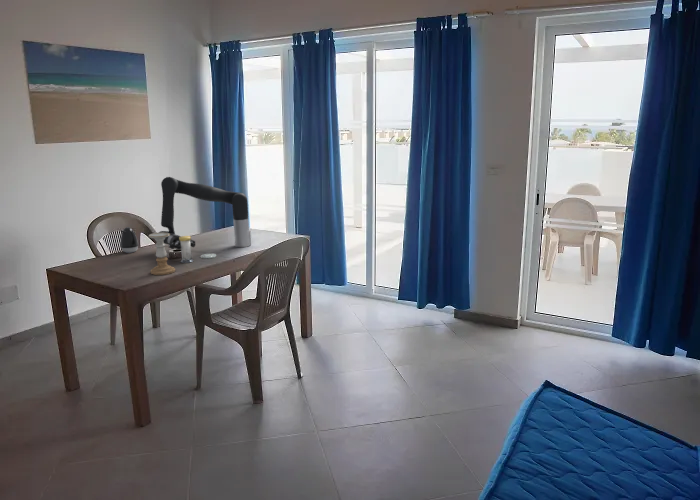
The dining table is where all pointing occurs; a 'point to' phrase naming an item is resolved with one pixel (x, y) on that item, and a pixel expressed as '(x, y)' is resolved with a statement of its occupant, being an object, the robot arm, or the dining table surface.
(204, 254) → the coaster
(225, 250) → the dining table surface
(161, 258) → the candle holder
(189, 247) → the glass jar
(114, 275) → the dining table surface
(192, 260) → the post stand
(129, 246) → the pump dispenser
